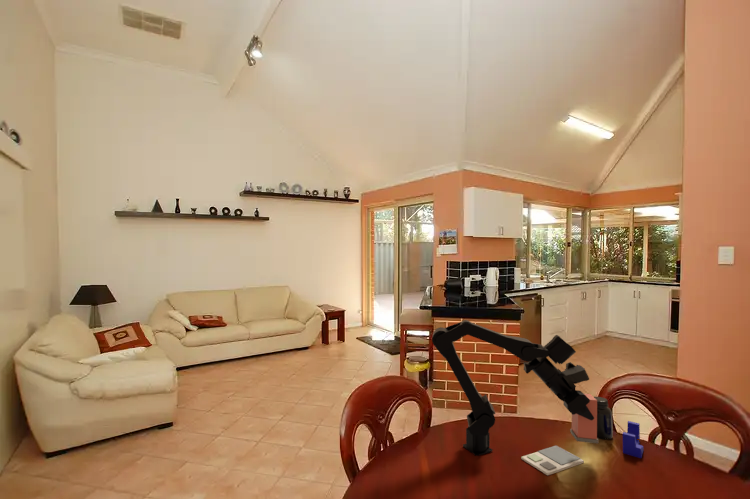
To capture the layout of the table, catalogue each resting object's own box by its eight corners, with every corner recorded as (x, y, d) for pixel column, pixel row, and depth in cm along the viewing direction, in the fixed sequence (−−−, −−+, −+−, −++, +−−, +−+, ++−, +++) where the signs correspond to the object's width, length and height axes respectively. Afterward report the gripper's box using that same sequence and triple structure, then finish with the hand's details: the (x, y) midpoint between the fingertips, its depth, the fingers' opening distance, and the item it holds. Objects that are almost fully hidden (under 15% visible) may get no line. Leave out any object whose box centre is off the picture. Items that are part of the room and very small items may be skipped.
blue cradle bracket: (641, 459, 106) (640, 438, 106) (622, 453, 109) (622, 433, 109) (645, 444, 115) (645, 425, 115) (628, 439, 118) (628, 420, 118)
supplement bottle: (605, 430, 123) (605, 395, 124) (617, 440, 116) (616, 403, 117) (584, 429, 124) (584, 394, 124) (594, 439, 117) (594, 402, 118)
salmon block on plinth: (577, 441, 103) (577, 398, 103) (570, 432, 108) (570, 392, 109) (598, 443, 102) (598, 400, 102) (590, 434, 107) (590, 393, 108)
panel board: (547, 475, 97) (547, 472, 97) (521, 458, 105) (521, 455, 105) (583, 462, 103) (583, 459, 103) (556, 447, 112) (556, 445, 112)
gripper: (581, 365, 97) (626, 410, 95) (559, 349, 116) (597, 386, 113) (550, 391, 99) (594, 437, 96) (533, 371, 117) (569, 409, 115)
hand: (589, 415), depth 105 cm, fingers closed on salmon block on plinth, 5 cm apart
